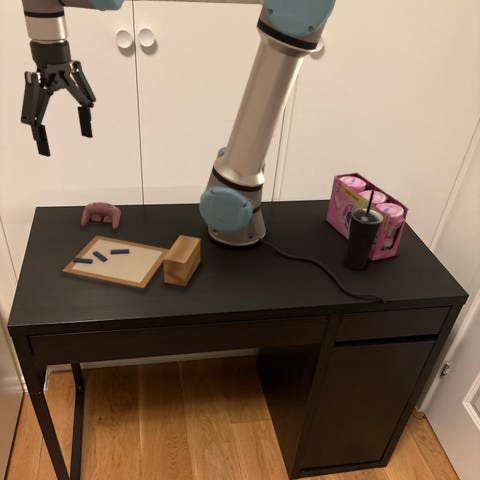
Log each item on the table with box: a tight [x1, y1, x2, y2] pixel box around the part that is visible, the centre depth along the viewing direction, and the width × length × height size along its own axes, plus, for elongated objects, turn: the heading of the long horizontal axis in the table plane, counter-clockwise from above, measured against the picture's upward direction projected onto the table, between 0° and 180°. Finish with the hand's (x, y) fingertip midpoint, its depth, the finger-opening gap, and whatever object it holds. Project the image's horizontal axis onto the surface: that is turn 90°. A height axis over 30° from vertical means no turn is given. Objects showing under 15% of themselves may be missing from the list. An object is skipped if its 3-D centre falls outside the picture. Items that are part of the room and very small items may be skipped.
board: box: [61, 235, 170, 289], centre depth 122 cm, size 20×17×1 cm
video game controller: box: [80, 201, 122, 229], centre depth 134 cm, size 10×5×7 cm, turn 84°
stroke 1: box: [72, 257, 93, 264], centre depth 119 cm, size 4×1×1 cm, turn 86°
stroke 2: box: [93, 251, 107, 262], centre depth 121 cm, size 4×1×1 cm, turn 45°
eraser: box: [163, 234, 201, 288], centre depth 117 cm, size 5×11×8 cm, turn 165°
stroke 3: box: [110, 249, 129, 254], centre depth 123 cm, size 4×1×1 cm, turn 100°
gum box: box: [325, 172, 410, 261], centre depth 134 cm, size 24×8×14 cm, turn 24°
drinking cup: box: [345, 190, 383, 271], centre depth 122 cm, size 8×8×20 cm
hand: (66, 145), depth 114 cm, fingers open, 13 cm apart
